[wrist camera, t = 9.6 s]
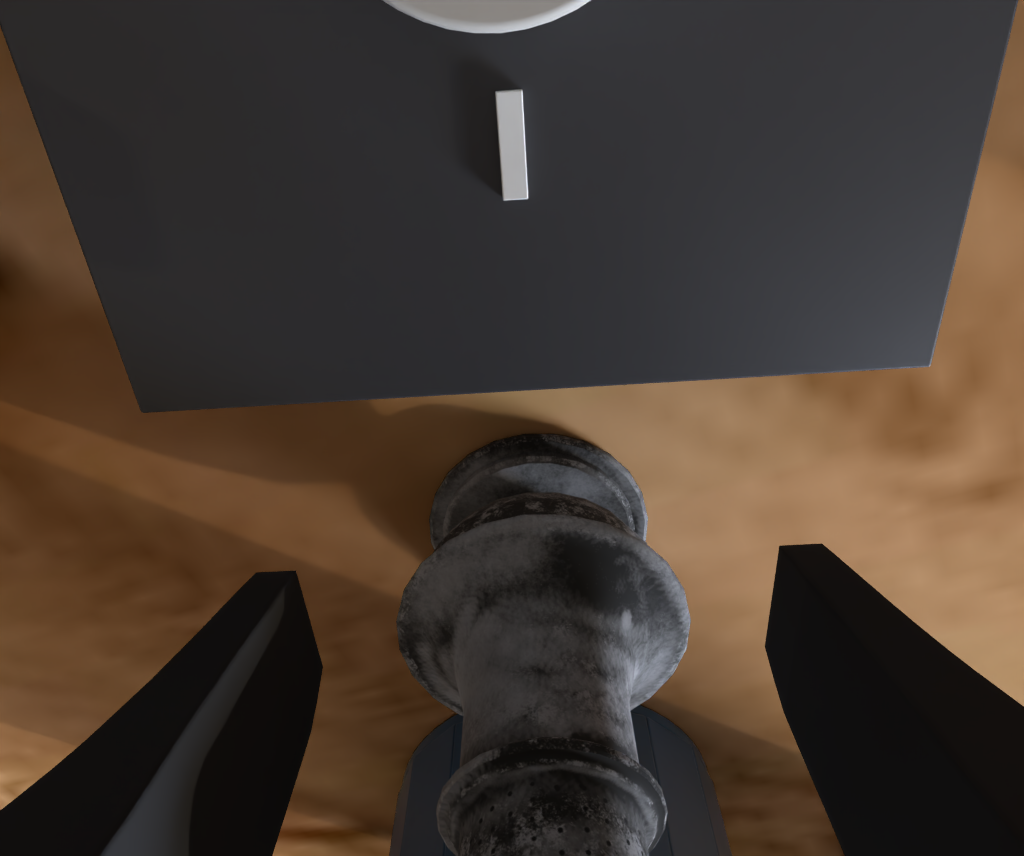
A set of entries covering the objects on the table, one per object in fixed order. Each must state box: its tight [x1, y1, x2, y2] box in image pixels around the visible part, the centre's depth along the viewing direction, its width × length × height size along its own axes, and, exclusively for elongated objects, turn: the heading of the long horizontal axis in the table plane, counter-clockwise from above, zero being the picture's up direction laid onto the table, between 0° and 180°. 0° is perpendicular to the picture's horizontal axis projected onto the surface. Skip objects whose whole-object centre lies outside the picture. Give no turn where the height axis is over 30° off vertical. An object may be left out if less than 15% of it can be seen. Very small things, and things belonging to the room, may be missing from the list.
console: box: [0, 0, 1018, 413], centre depth 11 cm, size 11×13×4 cm
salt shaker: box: [396, 434, 691, 856], centre depth 12 cm, size 6×6×12 cm
